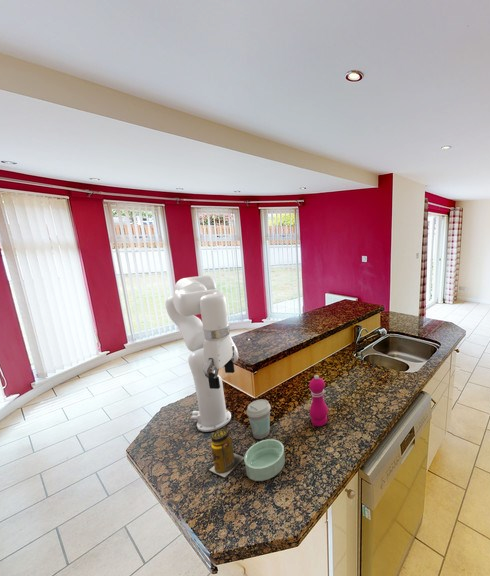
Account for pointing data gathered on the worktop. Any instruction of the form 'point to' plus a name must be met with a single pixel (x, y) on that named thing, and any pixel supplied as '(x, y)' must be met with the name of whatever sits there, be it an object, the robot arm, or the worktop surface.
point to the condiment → (223, 453)
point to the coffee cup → (259, 418)
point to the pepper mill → (318, 402)
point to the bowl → (264, 459)
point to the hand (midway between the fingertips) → (222, 379)
